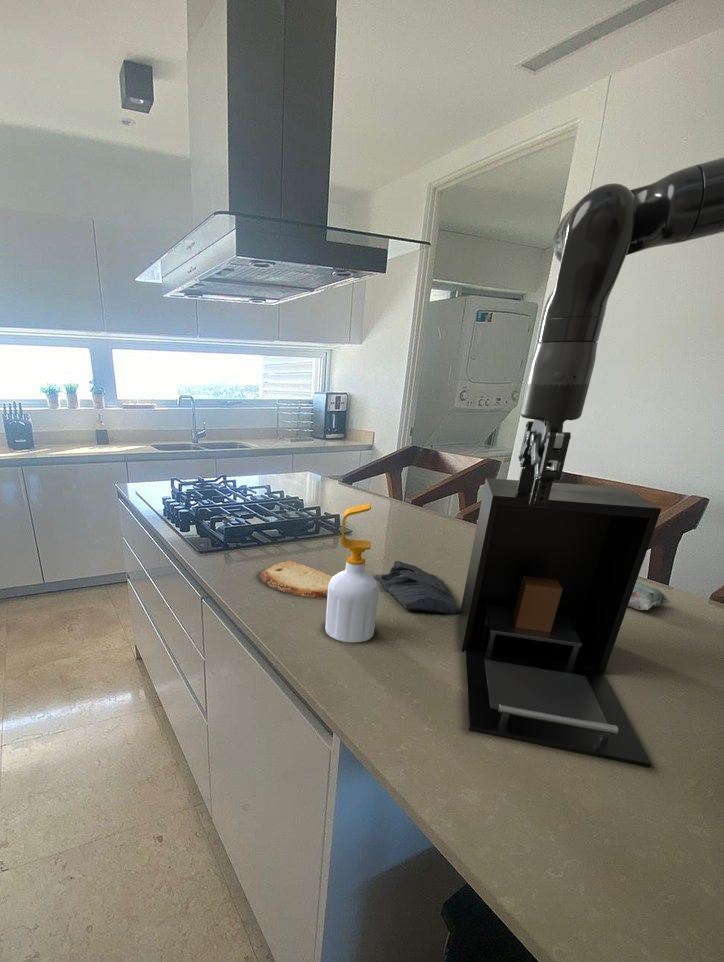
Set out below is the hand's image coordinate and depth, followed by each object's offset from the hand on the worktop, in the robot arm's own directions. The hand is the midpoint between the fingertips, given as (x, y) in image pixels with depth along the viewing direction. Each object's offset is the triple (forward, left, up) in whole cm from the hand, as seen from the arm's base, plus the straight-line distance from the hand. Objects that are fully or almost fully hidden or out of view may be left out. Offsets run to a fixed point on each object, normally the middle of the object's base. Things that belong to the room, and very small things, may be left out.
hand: (530, 499), depth 72 cm
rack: (-6, -7, -27) cm, 28 cm away
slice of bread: (+40, -21, -28) cm, 53 cm away
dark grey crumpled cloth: (+14, -24, -28) cm, 40 cm away
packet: (-6, -6, -23) cm, 24 cm away
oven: (-6, +3, -28) cm, 29 cm away
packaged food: (-30, -35, -28) cm, 54 cm away
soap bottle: (+25, -1, -28) cm, 38 cm away
